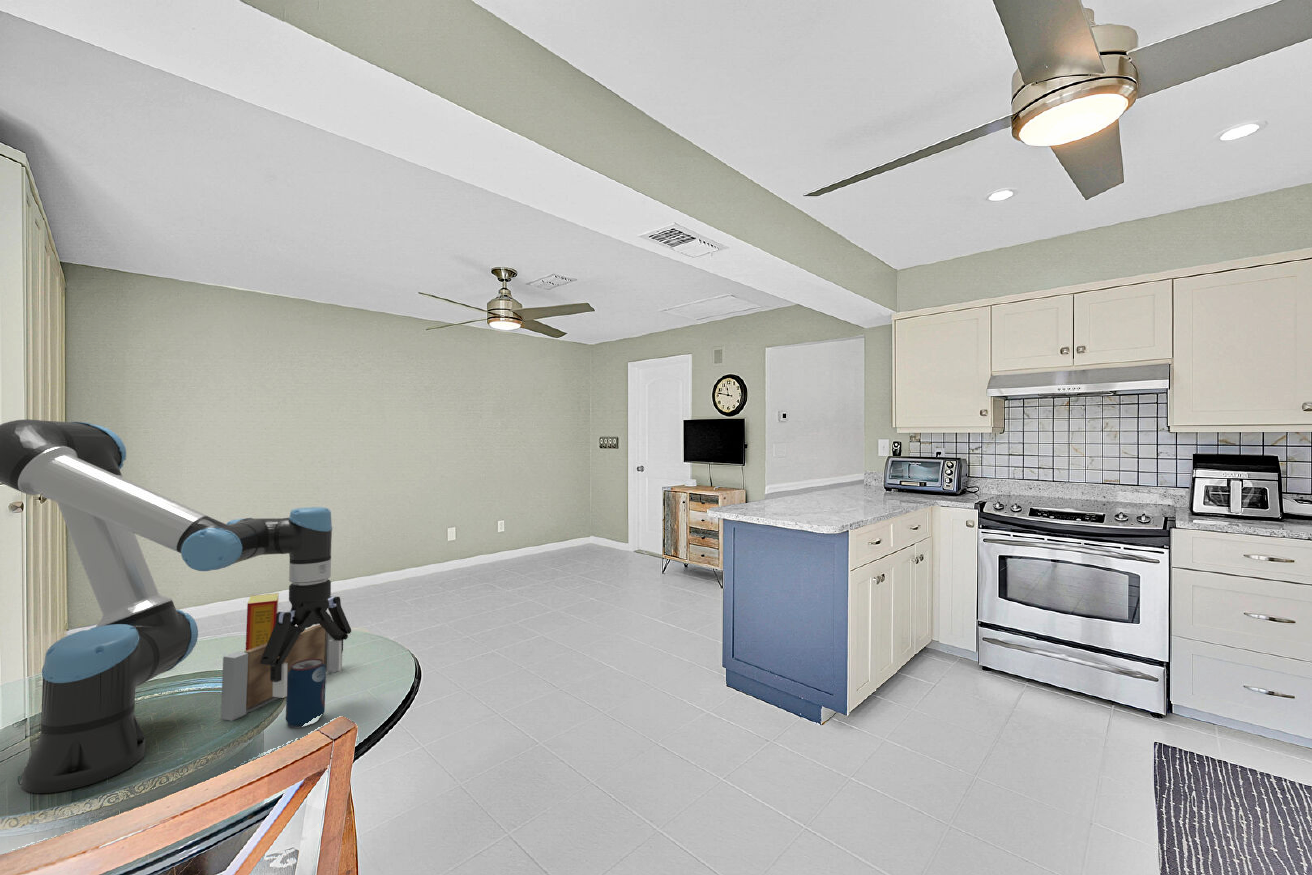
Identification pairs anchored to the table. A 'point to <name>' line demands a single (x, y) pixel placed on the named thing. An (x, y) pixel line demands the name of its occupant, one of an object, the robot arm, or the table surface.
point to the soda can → (305, 691)
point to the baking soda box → (260, 619)
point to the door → (306, 647)
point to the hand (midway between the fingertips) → (308, 682)
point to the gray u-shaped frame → (242, 685)
